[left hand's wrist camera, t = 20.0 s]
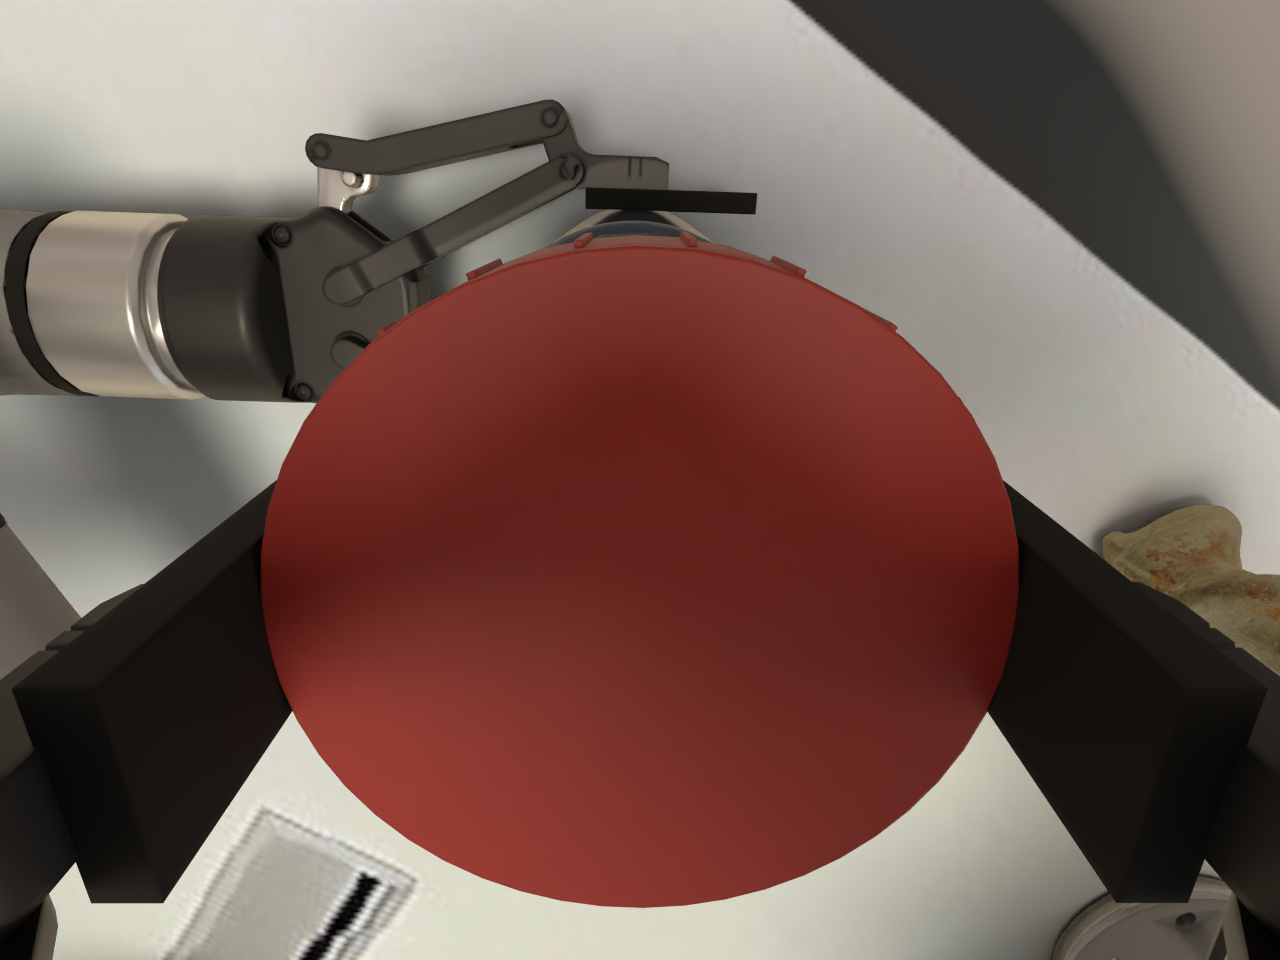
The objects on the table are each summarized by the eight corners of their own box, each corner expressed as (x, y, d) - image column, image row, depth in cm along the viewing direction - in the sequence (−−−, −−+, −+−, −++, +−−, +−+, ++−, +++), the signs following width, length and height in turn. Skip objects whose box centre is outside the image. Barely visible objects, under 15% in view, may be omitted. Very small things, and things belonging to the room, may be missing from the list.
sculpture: (1215, 571, 42) (1498, 760, 29) (1088, 602, 43) (1303, 801, 29) (1215, 482, 40) (1520, 638, 26) (1081, 516, 41) (1310, 685, 27)
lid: (1083, 444, 11) (1193, 506, 9) (736, 866, 15) (754, 989, 12) (492, 83, 10) (447, 49, 7) (244, 654, 13) (158, 753, 11)
